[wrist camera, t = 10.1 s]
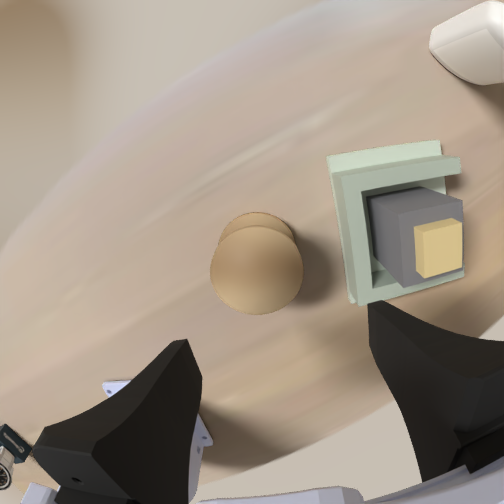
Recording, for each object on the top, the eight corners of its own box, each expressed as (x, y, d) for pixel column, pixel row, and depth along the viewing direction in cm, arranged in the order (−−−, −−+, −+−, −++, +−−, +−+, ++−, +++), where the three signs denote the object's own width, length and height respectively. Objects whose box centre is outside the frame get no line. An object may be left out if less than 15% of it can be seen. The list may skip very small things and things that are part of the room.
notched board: (443, 273, 21) (463, 289, 18) (348, 298, 22) (359, 320, 19) (433, 139, 18) (457, 140, 15) (325, 156, 19) (337, 158, 16)
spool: (301, 276, 21) (310, 304, 18) (229, 291, 22) (224, 321, 18) (287, 204, 20) (293, 219, 16) (209, 222, 20) (198, 240, 17)
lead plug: (424, 243, 20) (472, 277, 14) (373, 255, 20) (411, 296, 14) (420, 186, 18) (472, 204, 13) (365, 196, 19) (406, 219, 13)
